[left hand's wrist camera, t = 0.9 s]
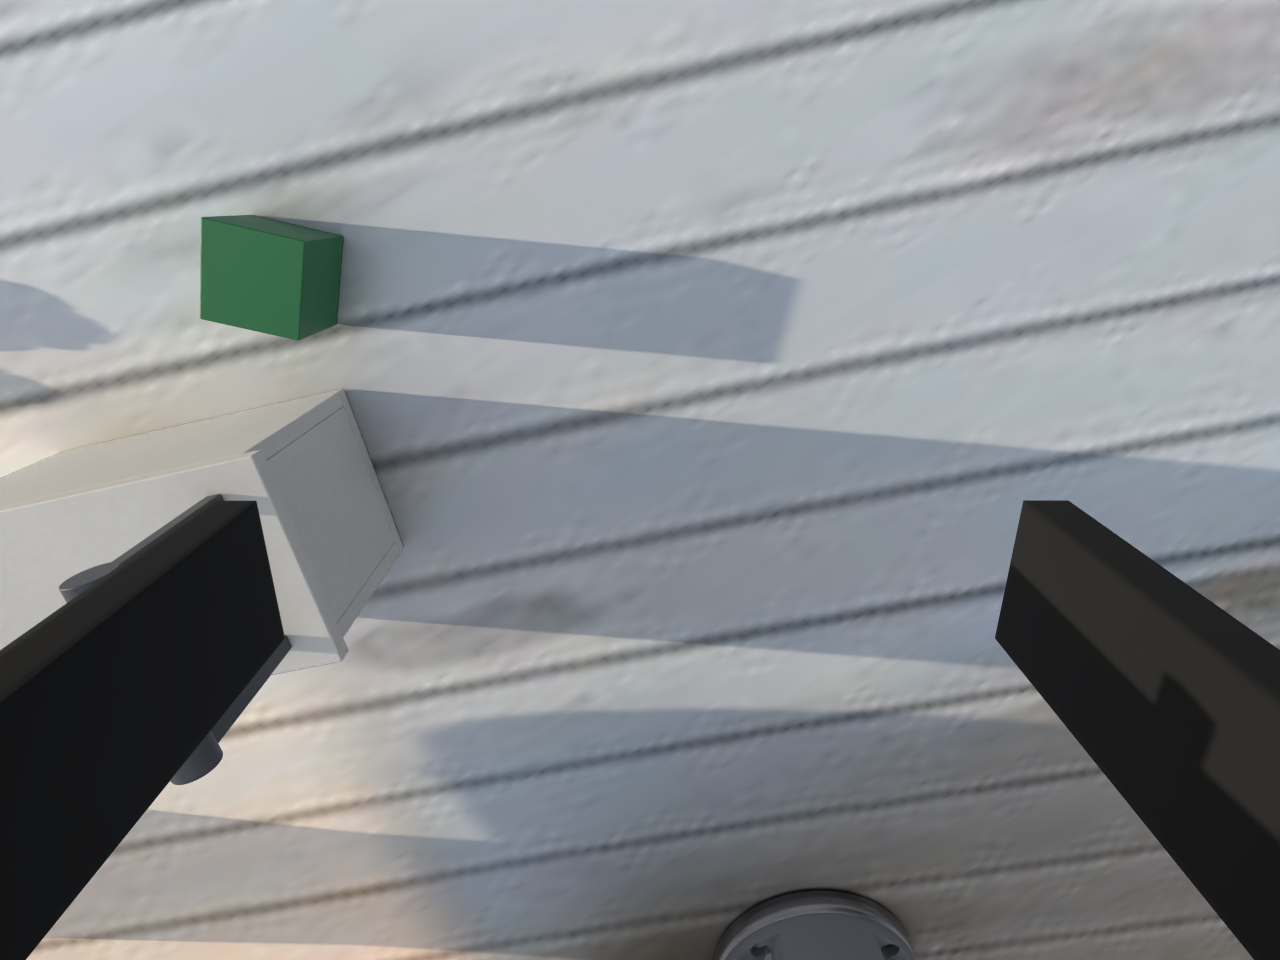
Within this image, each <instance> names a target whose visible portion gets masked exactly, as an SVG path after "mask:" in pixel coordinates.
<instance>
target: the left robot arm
mask: <svg viewBox="0 0 1280 960" xmlns="http://www.w3.org/2000/svg"><path fill="white" fill-rule="evenodd" d="M284 639H285V636H284V631H283V626H282V621H281V617H280V612H279V607H278V602H277V597H276V593H275V588H274V583H273V578H272V573H271V568H270V564H269V559H268V554H267V549H266V544H265V539H264V535H263V530H262V525H261V520H260V515H259V510H258V506H257V501H211V502H209V503H208V504H206V505H205V506H203V507H202V508H201V509H199V510H198V511H196V512H195V513H194V514H192V515H191V516H189V517H188V518H186V519H185V520H184V521H182V522H181V523H179V524H178V525H177V526H175V527H174V528H172V529H171V530H170V531H168V532H167V533H165V534H164V535H162V536H161V537H160V538H158V539H157V540H155V541H154V542H153V543H151V544H150V545H148V546H147V547H145V548H144V549H143V550H141V551H140V552H138V553H137V554H136V555H134V556H133V557H131V558H130V559H128V560H127V561H126V562H124V563H123V564H121V565H120V566H119V567H117V568H116V569H114V570H113V571H112V572H110V573H109V574H107V575H106V576H104V577H103V578H102V579H100V580H99V581H97V582H96V583H95V584H93V585H92V586H90V587H89V588H87V589H86V590H85V591H83V592H82V593H80V594H79V595H78V596H76V597H75V598H73V599H72V600H70V601H69V602H68V603H66V604H65V605H63V606H62V607H61V608H59V609H58V610H56V611H55V612H54V613H52V614H51V615H49V616H48V617H46V618H45V619H44V620H42V621H41V622H39V623H38V624H37V625H35V626H34V627H32V628H31V629H29V630H28V631H27V632H25V633H24V634H22V635H21V636H20V637H18V638H17V639H15V640H14V641H13V642H11V643H10V644H8V645H7V646H5V647H4V648H3V649H1V650H0V960H26V959H27V957H28V956H29V955H30V954H31V953H32V951H33V950H34V949H35V948H36V946H37V945H38V944H39V943H40V941H41V940H42V939H43V938H44V936H45V935H46V934H47V933H48V931H49V930H50V929H51V928H52V926H53V925H54V924H55V923H56V922H57V920H58V919H59V918H60V917H61V915H62V914H63V913H64V912H65V910H66V909H67V908H68V907H69V905H70V904H71V903H72V902H73V900H74V899H75V898H76V897H77V895H78V894H79V893H80V892H81V891H82V889H83V888H84V887H85V886H86V884H87V883H88V882H89V881H90V879H91V878H92V877H93V876H94V874H95V873H96V872H97V871H98V869H99V868H100V867H101V866H102V864H103V863H104V862H105V861H106V859H107V858H108V857H109V856H110V855H111V853H112V852H113V851H114V850H115V848H116V847H117V846H118V845H119V843H120V842H121V841H122V840H123V838H124V837H125V836H126V835H127V833H128V832H129V831H130V830H131V828H132V827H133V826H134V825H135V824H136V822H137V821H138V820H139V819H140V817H141V816H142V815H143V814H144V812H145V811H146V810H147V809H148V807H149V806H150V805H151V804H152V802H153V801H154V800H155V799H156V797H157V796H158V795H159V794H160V793H161V791H162V790H163V789H164V788H165V786H166V785H167V784H168V783H169V781H170V780H171V779H172V778H173V776H174V775H175V774H176V773H177V771H178V770H179V769H180V768H181V766H182V765H183V764H184V763H185V762H186V760H187V759H188V758H189V757H190V755H191V754H192V753H193V752H194V750H195V749H196V748H197V747H198V745H199V744H200V743H201V742H202V740H203V739H204V738H205V737H206V735H207V734H208V733H209V732H210V731H211V729H212V728H213V727H214V726H215V724H216V723H217V722H218V721H219V719H220V718H221V717H222V716H223V714H224V713H225V712H226V711H227V709H228V708H229V707H230V706H231V704H232V703H233V702H234V701H235V700H236V698H237V697H238V696H239V695H240V693H241V692H242V691H243V690H244V688H245V687H246V686H247V685H248V683H249V682H250V681H251V680H252V678H253V677H254V676H255V675H256V673H257V672H258V671H259V670H260V669H261V667H262V666H263V665H264V664H265V662H266V661H267V660H268V659H269V657H270V656H271V655H272V654H273V652H274V651H275V650H276V649H277V647H278V646H279V645H280V644H281V642H282V641H283V640H284ZM995 639H996V640H997V641H998V642H999V644H1000V645H1001V646H1002V647H1003V649H1004V650H1005V651H1006V652H1007V654H1008V655H1009V656H1010V657H1011V659H1012V660H1013V661H1014V662H1015V664H1016V665H1017V666H1018V667H1019V669H1020V670H1021V671H1022V672H1023V673H1024V675H1025V676H1026V677H1027V678H1028V680H1029V681H1030V682H1031V683H1032V685H1033V686H1034V687H1035V688H1036V690H1037V691H1038V692H1039V693H1040V695H1041V696H1042V697H1043V698H1044V700H1045V701H1046V702H1047V703H1048V704H1049V706H1050V707H1051V708H1052V709H1053V711H1054V712H1055V713H1056V714H1057V716H1058V717H1059V718H1060V719H1061V721H1062V722H1063V723H1064V724H1065V726H1066V727H1067V728H1068V729H1069V731H1070V732H1071V733H1072V734H1073V735H1074V737H1075V738H1076V739H1077V740H1078V742H1079V743H1080V744H1081V745H1082V747H1083V748H1084V749H1085V750H1086V752H1087V753H1088V754H1089V755H1090V757H1091V758H1092V759H1093V760H1094V762H1095V763H1096V764H1097V765H1098V766H1099V768H1100V769H1101V770H1102V771H1103V773H1104V774H1105V775H1106V776H1107V778H1108V779H1109V780H1110V781H1111V783H1112V784H1113V785H1114V786H1115V788H1116V789H1117V790H1118V791H1119V793H1120V794H1121V795H1122V796H1123V797H1124V799H1125V800H1126V801H1127V802H1128V804H1129V805H1130V806H1131V807H1132V809H1133V810H1134V811H1135V812H1136V814H1137V815H1138V816H1139V817H1140V819H1141V820H1142V821H1143V822H1144V824H1145V825H1146V826H1147V827H1148V828H1149V830H1150V831H1151V832H1152V833H1153V835H1154V836H1155V837H1156V838H1157V840H1158V841H1159V842H1160V843H1161V845H1162V846H1163V847H1164V848H1165V850H1166V851H1167V852H1168V853H1169V855H1170V856H1171V857H1172V858H1173V859H1174V861H1175V862H1176V863H1177V864H1178V866H1179V867H1180V868H1181V869H1182V871H1183V872H1184V873H1185V874H1186V876H1187V877H1188V878H1189V879H1190V881H1191V882H1192V883H1193V884H1194V886H1195V887H1196V888H1197V889H1198V891H1199V892H1200V893H1201V894H1202V895H1203V897H1204V898H1205V899H1206V900H1207V902H1208V903H1209V904H1210V905H1211V907H1212V908H1213V909H1214V910H1215V912H1216V913H1217V914H1218V915H1219V917H1220V918H1221V919H1222V920H1223V922H1224V923H1225V924H1226V925H1227V926H1228V928H1229V929H1230V930H1231V931H1232V933H1233V934H1234V935H1235V936H1236V938H1237V939H1238V940H1239V941H1240V943H1241V944H1242V945H1243V946H1244V948H1245V949H1246V950H1247V951H1248V953H1249V954H1250V955H1251V956H1252V957H1253V959H1254V960H1280V650H1279V649H1277V648H1276V647H1275V646H1273V645H1272V644H1270V643H1269V642H1267V641H1266V640H1265V639H1263V638H1262V637H1260V636H1259V635H1258V634H1256V633H1255V632H1253V631H1252V630H1251V629H1249V628H1248V627H1246V626H1245V625H1243V624H1242V623H1241V622H1239V621H1238V620H1236V619H1235V618H1234V617H1232V616H1231V615H1229V614H1228V613H1226V612H1225V611H1224V610H1222V609H1221V608H1219V607H1218V606H1217V605H1215V604H1214V603H1212V602H1211V601H1210V600H1208V599H1207V598H1205V597H1204V596H1202V595H1201V594H1200V593H1198V592H1197V591H1195V590H1194V589H1193V588H1191V587H1190V586H1188V585H1187V584H1185V583H1184V582H1183V581H1181V580H1180V579H1178V578H1177V577H1176V576H1174V575H1173V574H1171V573H1170V572H1168V571H1167V570H1166V569H1164V568H1163V567H1161V566H1160V565H1159V564H1157V563H1156V562H1154V561H1153V560H1152V559H1150V558H1149V557H1147V556H1146V555H1144V554H1143V553H1142V552H1140V551H1139V550H1137V549H1136V548H1135V547H1133V546H1132V545H1130V544H1129V543H1127V542H1126V541H1125V540H1123V539H1122V538H1120V537H1119V536H1118V535H1116V534H1115V533H1113V532H1112V531H1110V530H1109V529H1108V528H1106V527H1105V526H1103V525H1102V524H1101V523H1099V522H1098V521H1096V520H1095V519H1094V518H1092V517H1091V516H1089V515H1088V514H1086V513H1085V512H1084V511H1082V510H1081V509H1079V508H1078V507H1077V506H1075V505H1074V504H1072V503H1071V502H1069V501H1023V506H1022V510H1021V515H1020V520H1019V525H1018V530H1017V535H1016V539H1015V544H1014V549H1013V554H1012V559H1011V564H1010V568H1009V573H1008V578H1007V583H1006V588H1005V593H1004V597H1003V602H1002V607H1001V612H1000V617H999V621H998V626H997V631H996V636H995ZM714 960H916V957H915V955H914V952H913V949H912V946H911V944H910V941H909V938H908V935H907V933H906V931H905V929H904V928H903V926H902V925H901V923H900V922H899V921H898V920H897V919H896V917H895V916H893V915H892V914H891V913H890V912H889V911H887V910H886V909H885V908H883V907H882V906H880V905H878V904H877V903H875V902H872V901H870V900H868V899H865V898H863V897H860V896H856V895H853V894H848V893H843V892H836V891H805V892H798V893H792V894H788V895H784V896H780V897H777V898H774V899H771V900H769V901H766V902H764V903H762V904H760V905H758V906H756V907H754V908H752V909H751V910H749V911H747V912H746V913H744V914H743V915H742V916H740V917H739V918H738V919H737V920H736V921H735V922H733V923H732V925H731V926H730V927H729V928H728V929H727V930H726V932H725V933H724V934H723V936H722V938H721V939H720V941H719V943H718V946H717V948H716V951H715V955H714Z"/></svg>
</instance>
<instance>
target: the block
mask: <svg viewBox="0 0 1280 960" xmlns="http://www.w3.org/2000/svg"><path fill="white" fill-rule="evenodd" d="M342 246H343V236H341V235H336V234H332V233H328V232H323V231H319V230H315V229H311V228H306V227H302V226H298V225H293V224H289V223H285V222H281V221H276V220H272V219H268V218H263V217H259V216H255V215H240V216H218V217H202V218H201V264H200V318H201V319H204V320H208V321H213V322H217V323H222V324H226V325H231V326H235V327H240V328H245V329H249V330H254V331H258V332H263V333H267V334H272V335H276V336H281V337H285V338H290V339H294V340H301V339H303V338H306V337H308V336H310V335H313V334H315V333H318V332H320V331H322V330H325V329H327V328H329V327H332V326H334V325H336V324H337V311H338V298H339V285H340V272H341V259H342Z"/></svg>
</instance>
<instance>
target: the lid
mask: <svg viewBox="0 0 1280 960" xmlns="http://www.w3.org/2000/svg"><path fill="white" fill-rule="evenodd" d="M211 501H257V506H258V510H259V515H260V520H261V525H262V530H263V535H264V539H265V544H266V549H267V554H268V559H269V564H270V568H271V573H272V578H273V583H274V588H275V593H276V597H277V602H278V607H279V612H280V617H281V621H282V626H283V631H284V636H285V639H284V640H283V641H282V642H281V644H280V645H279V646H278V647H277V649H276V650H275V651H274V652H273V654H272V655H271V656H270V657H269V659H268V660H267V661H266V662H265V664H264V665H263V666H262V667H261V669H260V670H259V671H258V672H257V673H256V675H255V676H254V677H253V678H252V680H251V681H250V682H249V683H248V685H247V686H246V687H245V688H244V690H243V691H242V692H241V693H240V695H239V696H238V697H237V698H236V700H235V701H234V702H233V703H232V704H231V706H230V707H229V708H228V709H227V711H226V712H225V713H224V714H223V716H222V717H221V718H220V719H219V721H218V722H217V723H216V724H215V726H214V727H213V728H212V729H211V731H210V732H209V733H208V734H207V735H206V737H205V738H204V739H203V740H202V742H201V743H200V744H199V745H198V747H197V748H196V749H195V750H194V752H193V753H192V754H191V755H190V757H189V758H188V759H187V760H186V762H185V763H184V764H183V765H182V766H181V768H180V769H179V770H178V771H177V773H176V774H175V775H174V776H173V778H172V779H171V780H170V781H171V783H173V784H175V785H183V784H187V783H190V782H193V781H195V780H197V779H199V778H201V777H203V776H205V775H206V774H208V773H209V772H210V771H211V770H213V769H214V768H215V767H216V766H217V765H218V764H219V762H220V761H221V759H222V757H223V752H222V750H221V748H220V746H219V744H218V743H219V742H220V740H221V739H222V738H223V736H224V735H225V734H226V732H227V731H228V730H229V729H230V727H231V726H232V725H233V723H234V722H235V721H236V719H237V718H238V717H239V716H240V714H241V713H242V712H243V710H244V709H245V708H246V707H247V705H248V704H249V703H250V701H251V700H252V699H253V697H254V696H255V695H256V694H257V692H258V691H259V690H260V688H261V687H262V686H263V684H264V683H265V682H266V681H267V679H268V678H269V677H270V675H275V674H280V673H285V672H290V671H295V670H300V669H306V668H311V667H316V666H321V665H326V664H331V663H336V662H341V661H342V660H343V659H344V657H345V656H346V654H347V653H348V648H347V646H346V643H345V641H344V639H343V636H342V634H341V632H340V629H339V627H338V625H337V622H336V620H335V618H334V615H333V613H332V611H331V609H330V606H329V604H328V602H327V599H326V597H325V595H324V592H323V590H322V588H321V585H320V583H319V581H318V579H317V576H316V574H315V572H314V569H313V567H312V565H311V562H310V560H309V558H308V555H307V553H306V551H305V549H304V546H303V544H302V542H301V539H300V537H299V535H298V532H297V530H296V528H295V525H294V523H293V521H292V518H291V516H290V514H289V512H288V509H287V507H286V505H285V502H284V500H283V498H282V495H281V493H280V491H279V488H278V486H277V484H276V482H275V479H274V477H273V475H272V472H271V470H270V468H269V465H268V463H267V461H266V458H265V456H264V454H263V451H262V450H257V451H252V452H248V453H243V454H238V455H234V456H229V457H225V458H220V459H216V460H211V461H207V462H202V463H197V464H193V465H188V466H184V467H179V468H175V469H170V470H166V471H161V472H157V473H152V474H147V475H143V476H138V477H134V478H129V479H125V480H120V481H116V482H111V483H106V484H102V485H97V486H93V487H88V488H84V489H79V490H75V491H70V492H65V493H61V494H56V495H52V496H47V497H43V498H38V499H34V500H29V501H24V502H20V503H15V504H11V505H6V506H2V507H0V650H1V649H3V648H4V647H5V646H7V645H8V644H10V643H11V642H13V641H14V640H15V639H17V638H18V637H20V636H21V635H22V634H24V633H25V632H27V631H28V630H29V629H31V628H32V627H34V626H35V625H37V624H38V623H39V622H41V621H42V620H44V619H45V618H46V617H48V616H49V615H51V614H52V613H54V612H55V611H56V610H58V609H59V608H61V607H62V606H63V605H65V604H66V603H68V602H69V601H70V600H72V599H73V598H75V597H76V596H78V595H79V594H80V593H82V592H83V591H85V590H86V589H87V588H89V587H90V586H92V585H93V584H95V583H96V582H97V581H99V580H100V579H102V578H103V577H104V576H106V575H107V574H109V573H110V572H112V571H113V570H114V569H116V568H117V567H119V566H120V565H121V564H123V563H124V562H126V561H127V560H128V559H130V558H131V557H133V556H134V555H136V554H137V553H138V552H140V551H141V550H143V549H144V548H145V547H147V546H148V545H150V544H151V543H153V542H154V541H155V540H157V539H158V538H160V537H161V536H162V535H164V534H165V533H167V532H168V531H170V530H171V529H172V528H174V527H175V526H177V525H178V524H179V523H181V522H182V521H184V520H185V519H186V518H188V517H189V516H191V515H192V514H194V513H195V512H196V511H198V510H199V509H201V508H202V507H203V506H205V505H206V504H208V503H209V502H211Z"/></svg>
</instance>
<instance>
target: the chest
mask: <svg viewBox="0 0 1280 960" xmlns="http://www.w3.org/2000/svg"><path fill="white" fill-rule="evenodd" d="M257 450H262V451H263V454H264V456H265V458H266V461H267V463H268V465H269V468H270V470H271V472H272V475H273V477H274V479H275V482H276V484H277V486H278V488H279V491H280V493H281V495H282V498H283V500H284V502H285V505H286V507H287V509H288V512H289V514H290V516H291V518H292V521H293V523H294V525H295V528H296V530H297V532H298V535H299V537H300V539H301V542H302V544H303V546H304V549H305V551H306V553H307V555H308V558H309V560H310V562H311V565H312V567H313V569H314V572H315V574H316V576H317V579H318V581H319V583H320V585H321V588H322V590H323V592H324V595H325V597H326V599H327V602H328V604H329V606H330V609H331V611H332V613H333V615H334V618H335V620H336V622H337V625H338V627H339V629H340V632H341V634H342V636H343V637H344V636H345V634H346V633H347V631H348V630H349V628H350V627H351V625H352V624H353V622H354V621H355V619H356V618H357V616H358V615H359V613H360V612H361V610H362V609H363V607H364V606H365V604H366V603H367V601H368V600H369V599H370V597H371V596H372V594H373V593H374V591H375V590H376V588H377V587H378V585H379V584H380V582H381V581H382V579H383V578H384V576H385V575H386V573H387V572H388V570H389V569H390V567H391V566H392V564H393V563H394V561H395V560H396V558H397V557H398V556H399V554H400V552H401V551H402V549H403V544H402V542H401V539H400V536H399V534H398V531H397V528H396V526H395V523H394V521H393V518H392V515H391V513H390V510H389V507H388V505H387V502H386V499H385V497H384V494H383V491H382V489H381V486H380V483H379V481H378V478H377V475H376V473H375V470H374V468H373V465H372V462H371V460H370V457H369V454H368V452H367V449H366V446H365V444H364V441H363V438H362V436H361V433H360V430H359V428H358V425H357V423H356V420H355V417H354V415H353V412H352V409H351V407H350V404H349V401H348V399H347V396H346V393H345V391H344V389H340V390H335V391H331V392H326V393H322V394H317V395H313V396H308V397H304V398H299V399H295V400H290V401H286V402H282V403H277V404H273V405H268V406H264V407H259V408H255V409H250V410H246V411H241V412H237V413H232V414H228V415H224V416H219V417H215V418H210V419H206V420H201V421H197V422H192V423H188V424H183V425H179V426H175V427H170V428H166V429H161V430H157V431H152V432H148V433H143V434H139V435H134V436H130V437H125V438H121V439H117V440H112V441H108V442H103V443H99V444H94V445H90V446H85V447H81V448H76V449H72V450H67V451H63V452H59V453H57V454H54V455H52V456H50V457H47V458H45V459H43V460H40V461H38V462H36V463H34V464H31V465H29V466H27V467H24V468H22V469H20V470H18V471H15V472H13V473H11V474H9V475H6V476H4V477H2V478H0V507H2V506H6V505H11V504H15V503H20V502H24V501H29V500H34V499H38V498H43V497H47V496H52V495H56V494H61V493H65V492H70V491H75V490H79V489H84V488H88V487H93V486H97V485H102V484H106V483H111V482H116V481H120V480H125V479H129V478H134V477H138V476H143V475H147V474H152V473H157V472H161V471H166V470H170V469H175V468H179V467H184V466H188V465H193V464H197V463H202V462H207V461H211V460H216V459H220V458H225V457H229V456H234V455H238V454H243V453H248V452H252V451H257Z"/></svg>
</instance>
